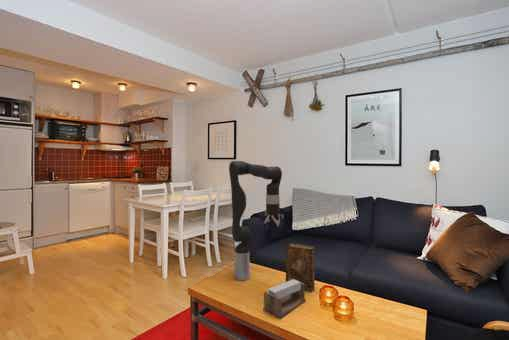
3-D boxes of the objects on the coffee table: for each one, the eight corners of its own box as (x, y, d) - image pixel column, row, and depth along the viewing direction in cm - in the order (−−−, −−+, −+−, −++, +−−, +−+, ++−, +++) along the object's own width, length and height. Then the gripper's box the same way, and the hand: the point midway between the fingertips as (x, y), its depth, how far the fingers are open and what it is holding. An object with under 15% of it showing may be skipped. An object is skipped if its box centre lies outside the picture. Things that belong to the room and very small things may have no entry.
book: (315, 288, 158) (315, 246, 156) (312, 292, 153) (312, 249, 152) (289, 282, 165) (289, 242, 164) (285, 286, 160) (285, 245, 159)
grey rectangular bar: (268, 296, 136) (268, 288, 136) (294, 286, 147) (293, 279, 147) (274, 300, 132) (274, 292, 132) (300, 289, 143) (300, 282, 143)
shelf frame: (263, 310, 135) (263, 291, 135) (288, 294, 151) (288, 277, 151) (280, 319, 128) (280, 299, 127) (305, 301, 144) (305, 283, 143)
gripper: (258, 201, 151) (259, 230, 152) (278, 204, 141) (278, 235, 142) (267, 200, 157) (267, 227, 157) (287, 203, 147) (287, 232, 148)
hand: (272, 231), depth 150 cm, fingers open, 8 cm apart
